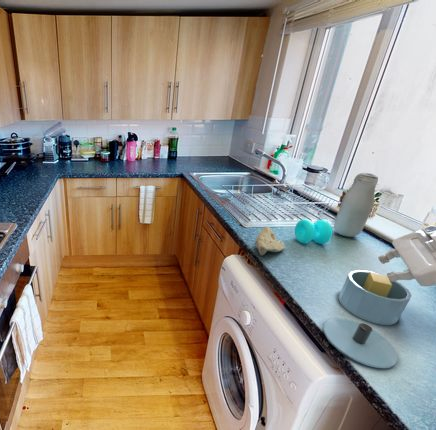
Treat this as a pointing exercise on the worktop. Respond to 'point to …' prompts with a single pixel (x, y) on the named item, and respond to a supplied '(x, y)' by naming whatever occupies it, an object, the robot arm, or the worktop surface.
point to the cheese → (268, 241)
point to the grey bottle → (356, 205)
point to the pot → (373, 300)
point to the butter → (377, 284)
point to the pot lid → (360, 343)
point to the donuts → (313, 231)
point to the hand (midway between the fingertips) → (383, 268)
